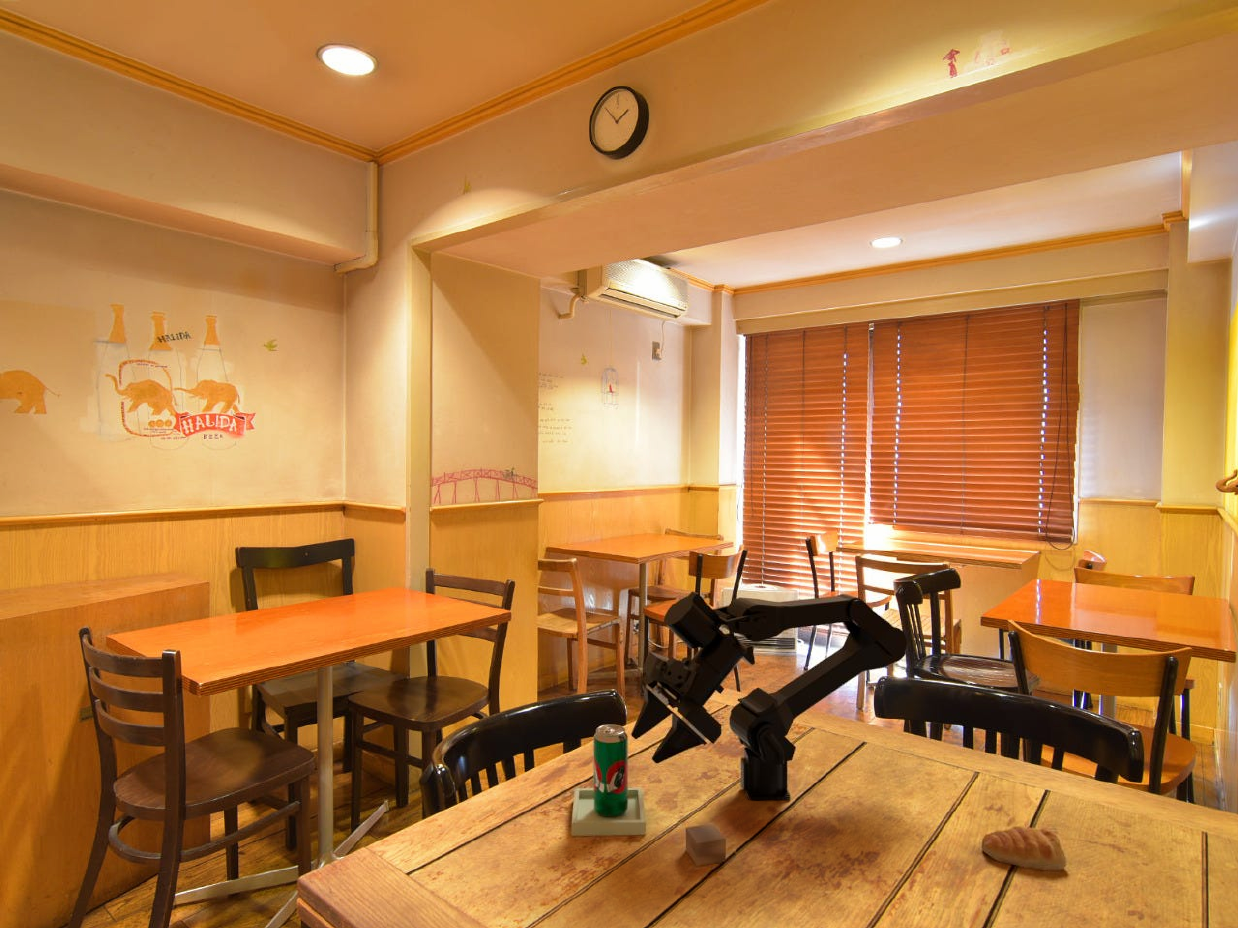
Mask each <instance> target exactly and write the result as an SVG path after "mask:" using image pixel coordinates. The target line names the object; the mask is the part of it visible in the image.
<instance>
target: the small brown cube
mask: <svg viewBox="0 0 1238 928" xmlns="http://www.w3.org/2000/svg"><path fill="white" fill-rule="evenodd" d="M726 843H727V842H726V837H725V836H724V835H723V834H722V832H720V830H719V829H718V827H717V826H716V825H715V824H714V823H708V824H701V825H695V826H689V827H688V826H687V827H685V851H686V853H687V854H688V855H689V857H690V858H691V860H692V862H693V863H694V864H695V866H696V867H700V866H701V865H702V866H707V865H708V866H709V865H712V864H713V865H714V864H720V863H724V862H726V860H727V859H726V851H727V849H726V846H727V845H726Z"/></svg>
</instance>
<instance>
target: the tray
mask: <svg viewBox="0 0 1238 928" xmlns="http://www.w3.org/2000/svg"><path fill="white" fill-rule="evenodd" d="M643 790H644V789H643V787H628V809H627V810H626V811H625V813H624V814H622V815H621V816H618V817H612V818H609V817H603V816H601V815H599V814H598V813H597V812H596V811H595V810H594V787H581V788H579V787H576V788H574V794H573V795H574V796H573V803H572V804H573V806H572V816H571V837H573V836H574V837H575V836H576V837H580V836H581V837H582V836H583V837H585V836H587V837H592V836H594V837H595V836H596V837H597V836H646V835H647V819H646V810H645V801H644V792H643Z"/></svg>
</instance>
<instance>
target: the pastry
mask: <svg viewBox="0 0 1238 928" xmlns="http://www.w3.org/2000/svg"><path fill="white" fill-rule="evenodd" d="M1060 841H1061V840H1060V839H1059V837H1058V836H1057V834H1056V833H1055V832H1054V831H1053V830H1052V829H1048V828H1047V827H1042V828H1041V829H1040V828H1035V827H1034V828H1033V827H1029V826H1022V825H1017V826H1016V825H1015V826H1013V827H1011V828H1008V829H1004V830H999V829H998V830H996V831H994V832H990V833H988V834H985V835H984V836H983V838H982V841H981V846H980V847H981V849H982V851H983V852H984V853H985V854H986V855H988V856H989V857H991V858H992V859H994V860H995V861H997V862H1000V863H1006V864H1010V865H1014V866H1018V867H1020V868H1023V869H1035V870H1043V871H1062V870H1061V869H1063V870H1064V868H1066V867H1067V860H1066V856H1065V852H1064V850H1063V847H1062V845H1061V842H1060Z"/></svg>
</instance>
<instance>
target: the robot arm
mask: <svg viewBox="0 0 1238 928" xmlns="http://www.w3.org/2000/svg"><path fill="white" fill-rule="evenodd" d="M711 607H712V606H710V605H709V604H708V603H707V602H706V601H705V599H704V597H703V596H701V595H700V594H699V593H698V592H695V591H691V592H690V593H689V594H688V595H687V596H684V597H682V598H681V599H679V600H678V601H676V602H675V603H673V604H672V605H670V607H669V608H668V610H667V611H666V613H665V615H664V618H663V624H664V625H665V626H666V627H667V628H668V629H669V630H670V631H671V632H672V633H673V634H674V635H676V637H678V639H680V640H681V642H683V643H684V644H685V645H686V646H687V647H688V648H689V649H693V650H694V649H698V648H699V650H698V651H697V652H696V654H695V655H694V656H693V657H692V658H690V657H689V656H686V657H683V658H682V659H676V658H675V657H673V656H672V657H670V658H668V657H666V656H663V655H660V654H658V653H655V652H654V651H653V652H652V651H649V653H648V655H647V657H646V660H645V662H644V664H643V667H642V671H641V672H643V673H644V674H645V673H646V674H645V676H644V677H643V678H642V679H641V681H642V682H643V683H644V684H646V685H647V686H646V685H644V684H642V690H643V696H644V701H643V704H642V708H641V710H640V712H639V715H638V717H637V718H636V719H637V720H636V721H635V724H634V726H633V729H632V731H631V734H630V735H631V737H632V738H633V739H634V740H638V739H640V738H641V737H643V736H644V735H646V734H647V733H648V732H650V730H652V729H654V728H655V727H656V726H658V725H659V724H661V722H663V721H665V720H666V719H667V718H669V717H670V716H671V727H670V729H669V730H668V732H667V733H666V735H665V736H664V737H663V739H662V740H661V742H660V744H659V745H658V746H657V748H656V750H655V751H654V753H653V754H652V756H651V760H652V761H653V762H654V763H655V764H659V763H662V762H664V761H666V760H669V759H670V758H673V757H675V756H677V755H679V754H681V753H684V752H685V751H688V750H692V749H693V748H696V747H699V746H701V745H704V746H706V745H707V744H708V742H707V741H706V740H705V739H707V740H708V741H709V742H710V743H711V744H712V745H714V744H715V743H716V742H717V740H719V738H720V737H721V735H722V724H721V723H720V722H719V721H718V720H717V719H716V718H715V717H714V716H712V715H711V714H710V713H709V712H708V710H707V708H705V707H704V706H705V705H706V704H707V702H708V701H709V700H710V698H711V697H712V696H713V695H714V694H715V692H717V693H718V694H720V695H721V694H722V693H723V691H725V688H724V687H723V686H722V683H723V682H724V681H725V680H726V679H727V677H728V676H729V675H730V673H731V672H732V671H733V670H734V669H735V667H736V666H737V665H738V664H739V662H740V661H741V660H743V661H745V662H746V663H748V664H750V665H751V666H754V665H755V664H756V659H755V655H754V654H755V653H754V649H755V647H754V646H753V645H751V644H749V643H747V642H746V643H743V642H741V640H740V639H738V637H737V636H736V635H735V634H737V635H739V636H740V637H743V638H745V639H746V640H749V641H751V642H754V643H755V642H756V643H758V642H762V641H766V640H768V639H769V640H770V639H772V638H773V639H774V638H775V637H778V636H779V635H780V634H782V633H784V632H785V631H787V630H792V629H797V628H798V629H799V628H807V627H816V626H824V625H832V624H841V623H842V624H843V626H844V628H845V629H846V631H848V634H847V636H846V639H845V642H844V643H843V646H842V647H841V648H839V649H838V650H836V651H835V652H833V653H831V654H830V655H829V656H828V657H826V658H825V659H823V660H821V661H820V662H818V663H817V664H816V665H814V666H813V667H811V668H809V669H808V670H807V671H805V672H804V673H802V674H800V675H799V676H797V677H796V678H794V679H793V680H791V681H789V682H788V683H786V685H784V686H782V687H781V688H779V689H777V691H774V692H769V693H768V692H766V690H764V689H762V688H760V687H756V688H755V689H752V691H750V692H749V693H748V694H747V695H746V696H745V695H744V697H740V698H737V701H738V703H736V705H734V706H733V707H732V709H731V710H730V715H729V727H730V729H731V731H732V733H733V734H734V735H736V736H737V738H738V741H739V743H740V744H741V745H742V746H744V749H743V757H741V758H740V784H741V787H742V789H743V791H745V794H746V795H747V798H748V800H753V801H754V800H755V801H756V800H757V801H759V800H760V801H764V800H765V801H767V800H770V801H771V800H776V801H777V800H791V794H790V792H789V790H788V762H791V761H793V759H794V755H795V752H796V749H797V748H796V746H795V744H794V743H792V741H790V740H789V739H788V738H787V737H786V736H788V734H789V732H790V730H791V728H792V725H793V723H794V721H795V719H796V718H798V717H800V716H801V715H802V714H804V713H805V712H806V711H808V710H809V709H810V708H812V707H813V706H815V705H816V704H819V702H821V701H822V700H824V699H826V698H827V697H828V696H829V695H831V694H832V693H834V692H836V691H838V689H839V688H841V687H843V686H844V685H845V684H847V683H849V682H850V681H851V680H853V679H854V678H856V677H857V676H859V675H860V674H862V673H863V672H866V671H867V672H868V671H873V670H879V669H884V668H887V667H889V666H891V665H893V664H895V663H898V662H899V661H902V659H903V658H904V657H905V656H906V654H907V647H908V640H907V637H906V634H905V633H904V631H903V630H902V629H901V628H900V627H895V626H893V625H892V624H891V623H890V622H889V621H887V620H886V619H885V618H883V617H882V616H881V615H879V614H878V613H877V612H875V611H874V610H873V609H872V608H871V607H870V606H869V605H868V604H867V603H866V602H865V601H864V600H863V599H862V598H859V597H856V596H853V595H850V594H846V593H841V594H838V595H833V596H832V595H831V596H823V597H816V598H807V599H806V598H805V599H795V600H788V601H787V600H786V601H785V600H784V601H774V600H773V601H772V600H768V599H767V600H766V599H761V598H760V599H759V598H749V597H737V598H734V599H732V600H731V602H730V603H729V605H728V604H727V605H724V606H720V607H717V608H713V609H712V608H711ZM721 627H722V628H723V629H726V630H727V631H729V632H731V633H724V632H723V631H722V630H721ZM667 705H668V706H667ZM669 707H670V708H669ZM671 708H672V709H677V710H676V711H677V713H678V714H679V715H680V716H679V715H677V714H676V712H674V711H673V710H672V709H671ZM681 716H682V717H681Z"/></svg>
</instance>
